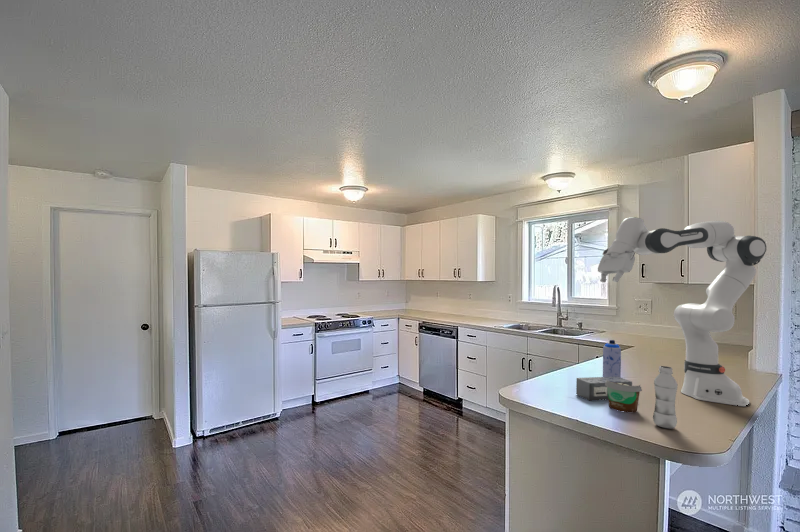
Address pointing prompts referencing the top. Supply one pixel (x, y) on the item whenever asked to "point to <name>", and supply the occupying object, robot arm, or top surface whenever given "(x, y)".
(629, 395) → the food container
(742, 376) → the top surface
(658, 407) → the plastic bottle
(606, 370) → the aerosol can
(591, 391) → the box
